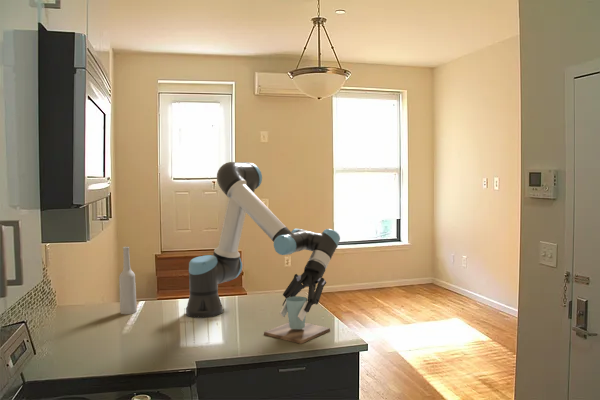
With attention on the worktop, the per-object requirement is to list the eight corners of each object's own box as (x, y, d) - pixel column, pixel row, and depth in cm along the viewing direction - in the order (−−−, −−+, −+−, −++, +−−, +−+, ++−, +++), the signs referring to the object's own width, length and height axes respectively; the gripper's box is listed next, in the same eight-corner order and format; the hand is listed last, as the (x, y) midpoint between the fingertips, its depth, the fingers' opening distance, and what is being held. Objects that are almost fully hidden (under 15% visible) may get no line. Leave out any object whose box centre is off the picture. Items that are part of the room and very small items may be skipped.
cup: (301, 322, 184) (300, 295, 183) (311, 328, 177) (311, 299, 177) (283, 326, 180) (282, 298, 179) (293, 331, 173) (292, 302, 173)
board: (264, 334, 177) (264, 331, 177) (293, 322, 191) (293, 320, 190) (301, 343, 167) (301, 340, 167) (330, 330, 180) (329, 328, 180)
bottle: (137, 313, 209) (134, 247, 207) (120, 315, 206) (118, 248, 205) (136, 309, 215) (133, 245, 214) (119, 311, 212) (117, 246, 211)
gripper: (343, 273, 183) (318, 327, 171) (300, 268, 196) (274, 317, 184) (335, 261, 179) (309, 316, 167) (291, 256, 192) (264, 307, 180)
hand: (290, 316), depth 176 cm, fingers closed on cup, 8 cm apart
